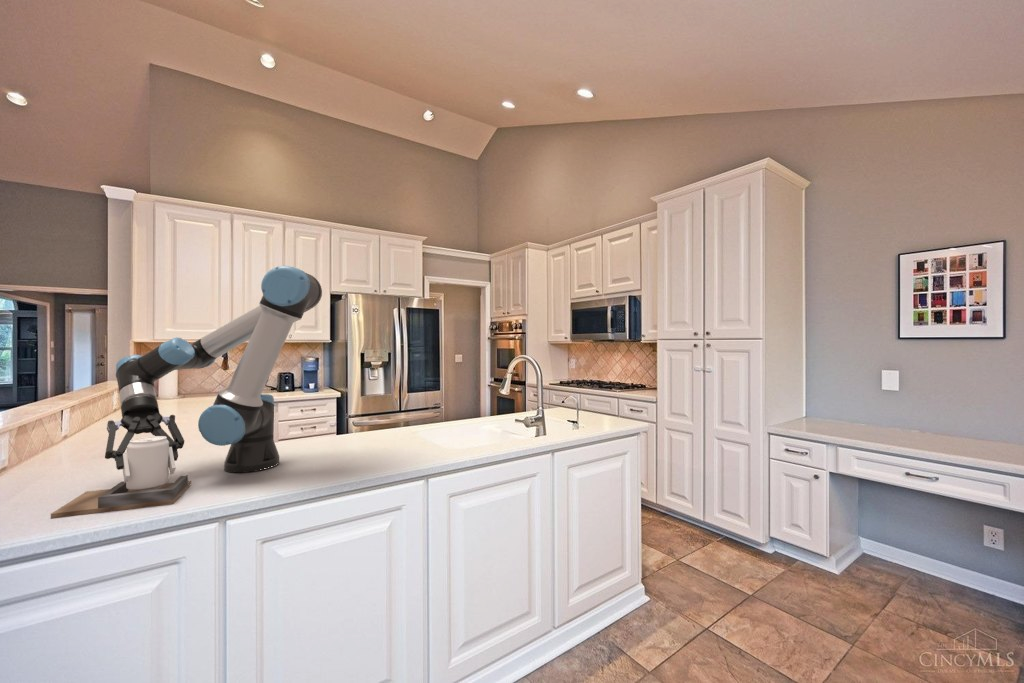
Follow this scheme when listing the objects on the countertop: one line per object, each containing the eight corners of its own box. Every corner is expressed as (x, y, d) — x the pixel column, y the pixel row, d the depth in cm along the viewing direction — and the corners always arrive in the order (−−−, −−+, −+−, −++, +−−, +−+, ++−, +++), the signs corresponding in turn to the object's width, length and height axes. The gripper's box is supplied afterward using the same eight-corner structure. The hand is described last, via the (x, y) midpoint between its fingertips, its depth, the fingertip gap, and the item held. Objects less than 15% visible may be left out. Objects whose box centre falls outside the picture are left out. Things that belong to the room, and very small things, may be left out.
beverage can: (143, 493, 103) (144, 443, 103) (117, 490, 104) (118, 441, 105) (176, 482, 111) (177, 436, 111) (151, 480, 112) (152, 434, 112)
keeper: (191, 484, 119) (191, 471, 119) (173, 503, 104) (173, 489, 104) (86, 495, 109) (86, 481, 110) (50, 518, 95) (50, 502, 95)
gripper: (183, 408, 126) (198, 474, 115) (83, 417, 110) (90, 494, 99) (189, 391, 122) (204, 457, 112) (86, 398, 106) (93, 475, 96)
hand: (150, 474), depth 105 cm, fingers closed on beverage can, 8 cm apart
